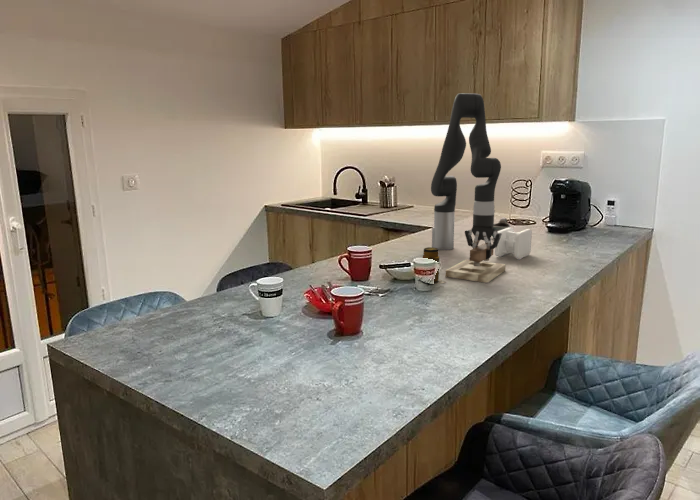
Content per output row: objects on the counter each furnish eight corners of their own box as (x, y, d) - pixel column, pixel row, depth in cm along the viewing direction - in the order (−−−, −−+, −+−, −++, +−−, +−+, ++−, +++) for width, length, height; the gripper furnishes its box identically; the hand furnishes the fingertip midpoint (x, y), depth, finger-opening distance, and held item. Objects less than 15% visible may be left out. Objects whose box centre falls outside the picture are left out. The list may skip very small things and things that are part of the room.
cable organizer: (517, 261, 217) (518, 234, 214) (493, 258, 223) (494, 231, 221) (531, 254, 228) (532, 228, 225) (507, 251, 234) (509, 226, 232)
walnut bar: (469, 266, 192) (469, 250, 191) (482, 258, 203) (483, 243, 202) (479, 267, 190) (480, 251, 189) (493, 259, 201) (493, 244, 200)
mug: (488, 240, 259) (489, 220, 257) (491, 235, 270) (492, 216, 268) (508, 241, 256) (509, 221, 253) (511, 236, 267) (512, 217, 265)
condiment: (432, 277, 195) (433, 245, 192) (446, 282, 188) (447, 250, 185) (416, 279, 192) (416, 247, 189) (429, 285, 185) (430, 252, 182)
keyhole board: (445, 276, 195) (445, 270, 195) (465, 265, 211) (466, 259, 211) (487, 283, 186) (487, 276, 186) (505, 270, 203) (505, 264, 202)
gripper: (461, 212, 194) (459, 258, 197) (499, 215, 186) (497, 262, 189) (469, 210, 200) (467, 254, 203) (506, 213, 192) (503, 258, 196)
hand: (481, 258), depth 196 cm, fingers closed on walnut bar, 4 cm apart
